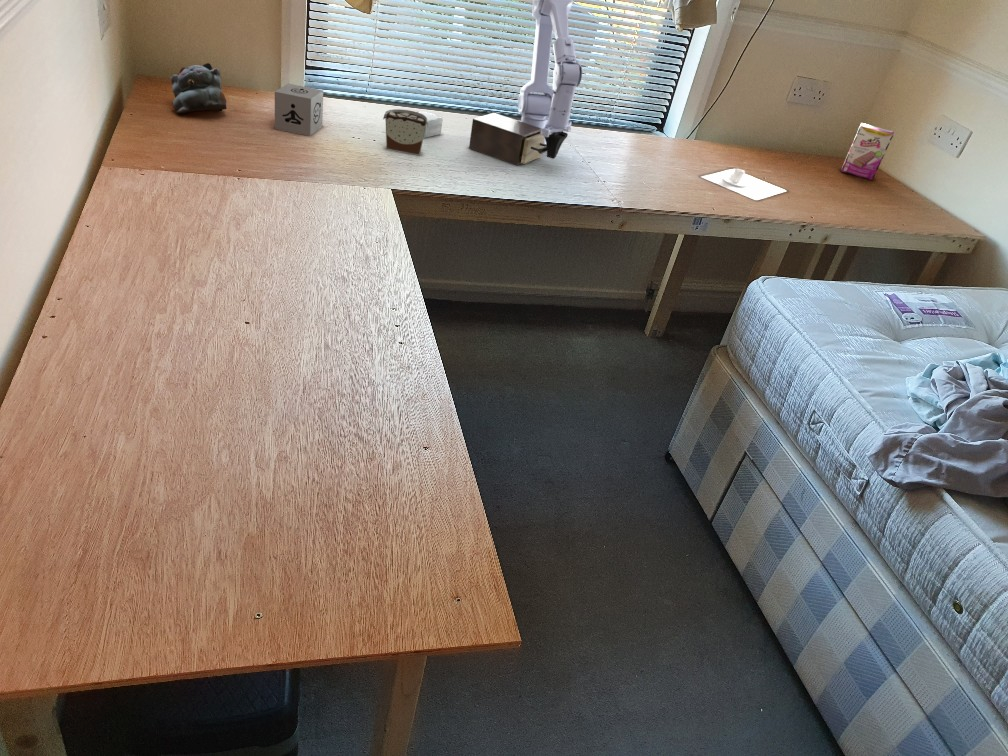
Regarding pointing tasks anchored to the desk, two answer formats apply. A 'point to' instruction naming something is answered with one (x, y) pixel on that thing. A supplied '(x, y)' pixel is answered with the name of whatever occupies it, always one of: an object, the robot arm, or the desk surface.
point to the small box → (432, 124)
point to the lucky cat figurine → (198, 89)
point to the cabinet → (500, 136)
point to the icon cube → (298, 109)
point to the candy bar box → (867, 151)
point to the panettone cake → (405, 130)
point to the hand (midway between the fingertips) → (551, 157)
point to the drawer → (533, 148)
